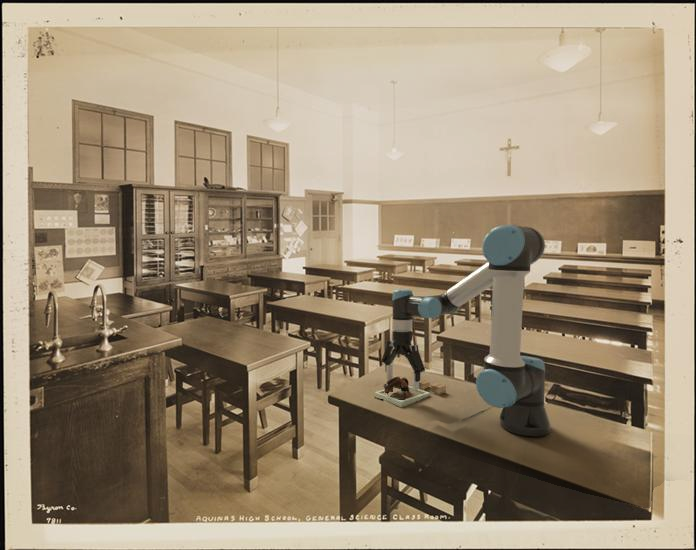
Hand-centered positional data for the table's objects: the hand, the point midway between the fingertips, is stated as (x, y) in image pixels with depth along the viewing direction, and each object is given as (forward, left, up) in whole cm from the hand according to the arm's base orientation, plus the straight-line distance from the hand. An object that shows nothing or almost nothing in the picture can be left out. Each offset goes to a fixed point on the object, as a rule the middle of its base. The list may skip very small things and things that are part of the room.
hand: (402, 385), depth 156 cm
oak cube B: (0, -12, -5) cm, 13 cm away
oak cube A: (-7, -13, -5) cm, 16 cm away
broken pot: (0, -1, -5) cm, 5 cm away
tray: (0, 0, -5) cm, 5 cm away
